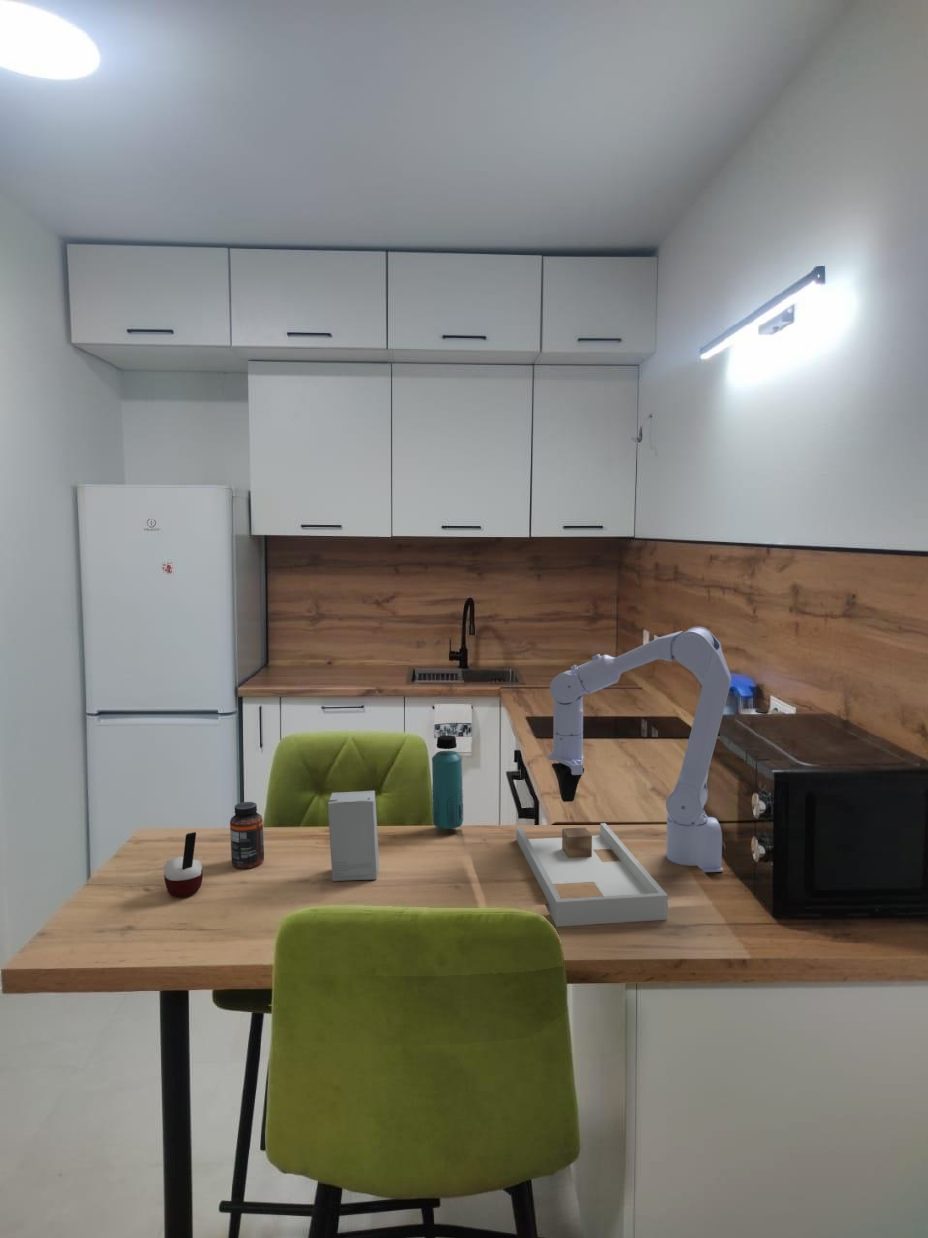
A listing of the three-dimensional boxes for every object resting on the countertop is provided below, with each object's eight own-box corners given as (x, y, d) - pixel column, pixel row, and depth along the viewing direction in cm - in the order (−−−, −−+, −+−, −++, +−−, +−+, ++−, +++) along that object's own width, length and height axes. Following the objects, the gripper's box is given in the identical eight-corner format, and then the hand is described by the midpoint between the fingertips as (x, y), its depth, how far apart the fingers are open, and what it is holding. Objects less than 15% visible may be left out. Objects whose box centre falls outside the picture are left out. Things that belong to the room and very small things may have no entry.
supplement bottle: (258, 855, 153) (256, 797, 152) (268, 865, 148) (267, 806, 147) (227, 861, 150) (225, 803, 149) (237, 872, 145) (235, 812, 144)
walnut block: (585, 847, 152) (585, 827, 152) (591, 856, 148) (591, 836, 147) (562, 848, 152) (562, 828, 151) (568, 858, 147) (568, 837, 147)
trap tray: (605, 842, 159) (605, 823, 158) (667, 919, 126) (667, 895, 126) (516, 847, 156) (516, 827, 156) (556, 926, 124) (556, 902, 123)
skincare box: (379, 868, 147) (377, 789, 145) (376, 881, 141) (375, 800, 139) (333, 868, 146) (332, 790, 145) (329, 882, 140) (327, 801, 139)
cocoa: (167, 888, 140) (162, 821, 139) (205, 882, 141) (200, 816, 141) (162, 909, 130) (157, 837, 130) (202, 903, 132) (197, 832, 131)
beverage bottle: (463, 836, 162) (462, 740, 161) (430, 836, 163) (430, 740, 161) (463, 825, 169) (463, 732, 167) (432, 825, 169) (431, 732, 167)
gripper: (539, 724, 161) (539, 790, 162) (556, 742, 147) (556, 813, 148) (573, 723, 162) (573, 788, 163) (594, 741, 148) (593, 812, 149)
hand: (567, 800), depth 156 cm, fingers closed
